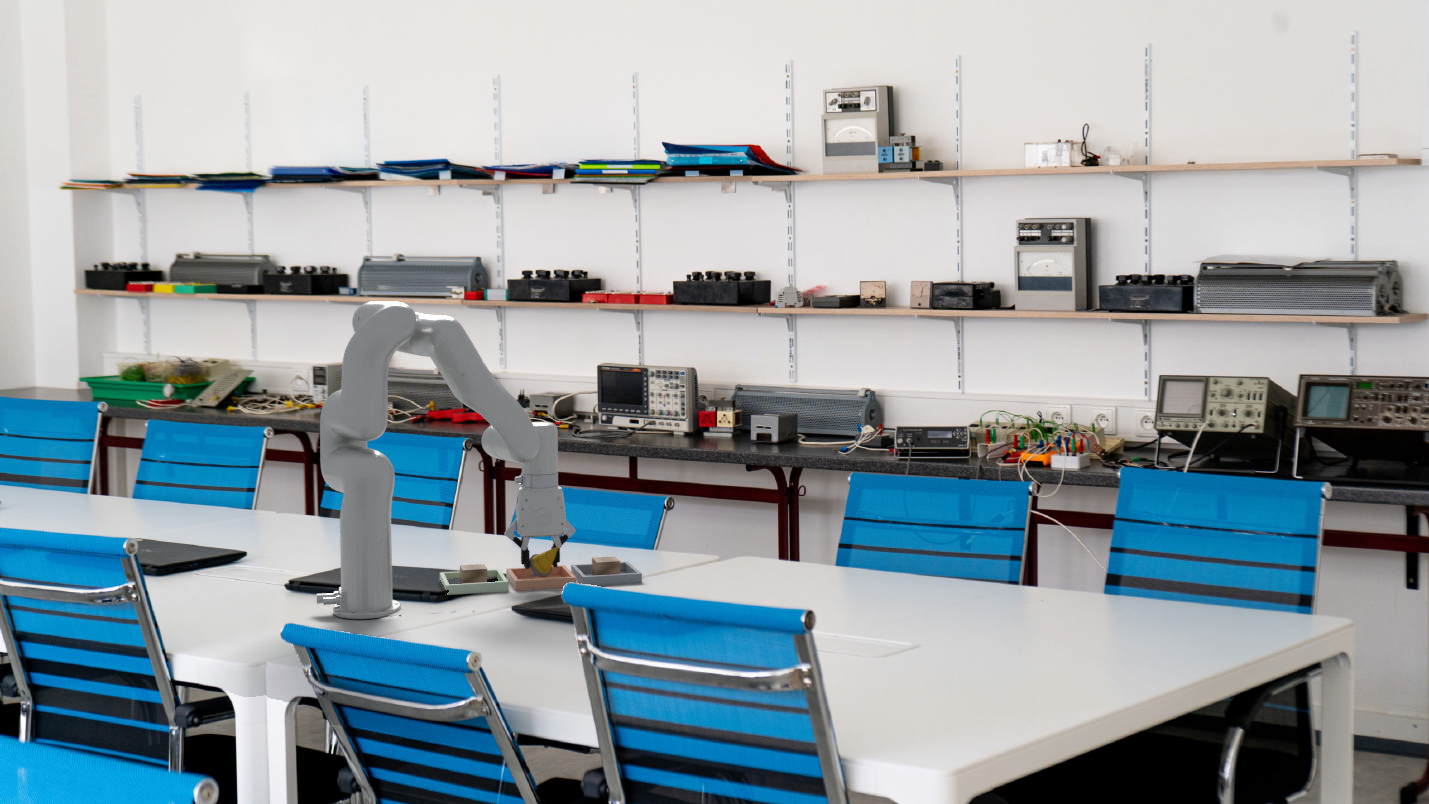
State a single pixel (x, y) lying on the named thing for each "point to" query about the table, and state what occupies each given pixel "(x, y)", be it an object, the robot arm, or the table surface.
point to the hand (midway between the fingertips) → (540, 566)
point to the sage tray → (475, 587)
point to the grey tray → (626, 575)
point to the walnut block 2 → (605, 566)
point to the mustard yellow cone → (542, 563)
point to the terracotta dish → (539, 578)
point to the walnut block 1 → (473, 573)
